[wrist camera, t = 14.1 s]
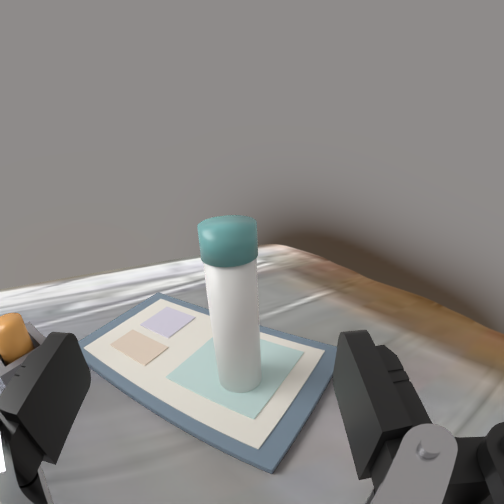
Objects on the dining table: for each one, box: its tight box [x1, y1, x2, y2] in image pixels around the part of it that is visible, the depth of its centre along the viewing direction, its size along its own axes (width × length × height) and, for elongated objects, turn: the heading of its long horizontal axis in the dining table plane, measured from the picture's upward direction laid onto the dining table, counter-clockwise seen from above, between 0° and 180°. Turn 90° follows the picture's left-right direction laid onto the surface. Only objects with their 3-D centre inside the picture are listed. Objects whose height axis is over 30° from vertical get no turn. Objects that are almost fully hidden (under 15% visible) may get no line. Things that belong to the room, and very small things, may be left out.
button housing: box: [0, 322, 46, 386], centre depth 23 cm, size 6×6×3 cm
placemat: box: [78, 292, 337, 474], centre depth 26 cm, size 22×13×1 cm, turn 59°
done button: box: [0, 313, 35, 366], centre depth 22 cm, size 4×4×4 cm
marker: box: [198, 215, 262, 393], centre depth 21 cm, size 3×3×12 cm
